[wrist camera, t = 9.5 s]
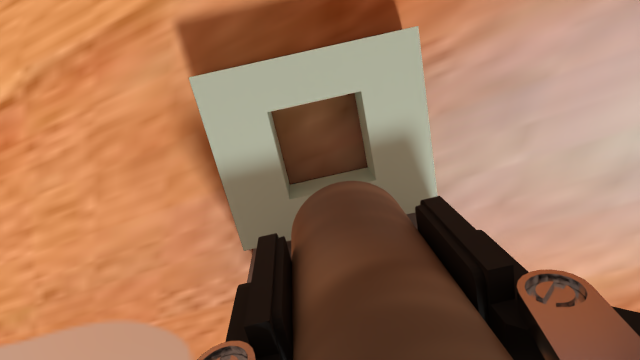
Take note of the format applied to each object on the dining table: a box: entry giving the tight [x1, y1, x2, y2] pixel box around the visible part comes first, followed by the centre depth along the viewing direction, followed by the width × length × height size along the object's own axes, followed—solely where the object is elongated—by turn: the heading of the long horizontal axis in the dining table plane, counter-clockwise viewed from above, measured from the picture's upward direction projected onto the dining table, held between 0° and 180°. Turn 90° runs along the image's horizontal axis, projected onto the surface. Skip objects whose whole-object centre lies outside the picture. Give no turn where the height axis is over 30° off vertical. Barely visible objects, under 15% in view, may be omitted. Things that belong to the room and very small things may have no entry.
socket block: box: [189, 26, 437, 251], centre depth 26 cm, size 14×12×3 cm
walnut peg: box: [291, 181, 513, 360], centre depth 8 cm, size 4×4×10 cm
